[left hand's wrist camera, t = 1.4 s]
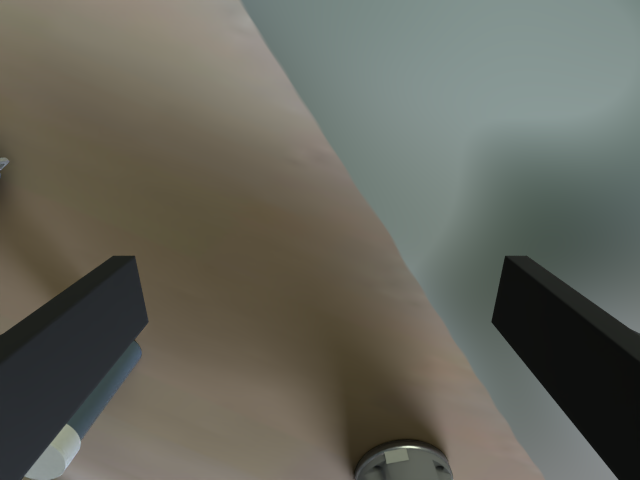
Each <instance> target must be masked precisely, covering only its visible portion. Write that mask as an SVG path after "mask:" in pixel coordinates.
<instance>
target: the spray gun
mask: <svg viewBox="0 0 640 480" xmlns="http://www.w3.org/2000/svg"><path fill="white" fill-rule="evenodd" d="M8 163H9V160H8V159H7V158H5V157H4V158H0V170H1V169H2V168H4V167H5V166H6V165H7V164H8ZM0 177H1V173H0Z"/></svg>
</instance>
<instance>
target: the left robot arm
mask: <svg viewBox="0 0 640 480" xmlns="http://www.w3.org/2000/svg"><path fill="white" fill-rule="evenodd" d="M147 323H148V317H147V312H146V307H145V302H144V298H143V293H142V288H141V283H140V278H139V274H138V269H137V264H136V259H135V256H112V257H111V258H109V259H108V260H107V261H105V262H104V263H102V264H101V265H100V266H98V267H97V268H95V269H94V270H93V271H91V272H90V273H88V274H87V275H85V276H84V277H83V278H81V279H80V280H78V281H77V282H76V283H74V284H73V285H71V286H70V287H69V288H67V289H66V290H64V291H63V292H61V293H60V294H59V295H57V296H56V297H54V298H53V299H52V300H50V301H49V302H47V303H46V304H44V305H43V306H42V307H40V308H39V309H37V310H36V311H35V312H33V313H32V314H30V315H29V316H28V317H26V318H25V319H23V320H22V321H20V322H19V323H18V324H16V325H15V326H13V327H12V328H11V329H9V330H8V331H6V332H5V333H4V334H2V335H0V480H22V478H23V477H24V476H25V475H26V473H27V472H28V471H29V470H30V468H31V467H32V466H33V465H34V463H35V462H36V461H37V460H38V458H39V457H40V456H41V455H42V454H43V452H44V451H45V450H46V449H47V447H48V446H49V445H50V444H51V442H52V441H53V440H54V439H55V437H56V436H57V435H58V434H59V432H60V431H61V430H62V429H63V427H64V426H65V425H66V424H67V423H68V421H69V420H70V419H71V418H72V416H73V415H74V414H75V413H76V411H77V410H78V409H79V408H80V406H81V405H82V404H83V403H84V401H85V400H86V399H87V398H88V396H89V395H90V394H91V393H92V392H93V390H94V389H95V388H96V387H97V385H98V384H99V383H100V382H101V380H102V379H103V378H104V377H105V375H106V374H107V373H108V372H109V370H110V369H111V368H112V367H113V365H114V364H115V363H116V362H117V361H118V359H119V358H120V357H121V356H122V354H123V353H124V352H125V351H126V349H127V348H128V347H129V346H130V344H131V343H132V342H133V341H134V339H135V338H136V337H137V336H138V335H139V333H140V332H141V331H142V330H143V328H144V327H145V326H146V325H147ZM492 323H493V325H494V326H495V327H496V328H497V330H498V331H499V332H500V333H501V334H502V336H503V337H504V338H505V339H506V341H507V342H508V343H509V344H510V346H511V347H512V348H513V349H514V351H515V352H516V353H517V354H518V355H519V357H520V358H521V359H522V361H523V362H524V363H525V364H526V365H527V367H528V368H529V369H530V370H531V372H532V373H533V374H534V375H535V377H536V378H537V379H538V380H539V382H540V383H541V384H542V385H543V387H544V388H545V389H546V390H547V392H548V393H549V394H550V395H551V396H552V398H553V399H554V400H555V401H556V403H557V404H558V405H559V406H560V408H561V409H562V410H563V411H564V413H565V414H566V415H567V416H568V418H569V419H570V420H571V421H572V423H573V424H574V425H575V426H576V427H577V429H578V430H579V431H580V432H581V434H582V435H583V436H584V437H585V439H586V440H587V441H588V442H589V444H590V445H591V446H592V447H593V449H594V450H595V451H596V452H597V453H598V455H599V456H600V457H601V458H602V460H603V461H604V462H605V463H606V465H607V466H608V467H609V468H610V470H611V471H612V472H613V473H614V475H615V476H616V477H617V478H618V480H640V333H637V332H635V331H633V330H631V329H629V328H628V327H627V326H625V325H624V324H622V323H621V322H619V321H618V320H617V319H615V318H614V317H612V316H611V315H610V314H608V313H607V312H605V311H604V310H603V309H601V308H600V307H598V306H597V305H595V304H594V303H593V302H591V301H590V300H588V299H587V298H586V297H584V296H583V295H581V294H580V293H579V292H577V291H576V290H574V289H573V288H571V287H570V286H569V285H567V284H566V283H564V282H563V281H562V280H560V279H559V278H557V277H556V276H555V275H553V274H552V273H550V272H549V271H547V270H546V269H545V268H543V267H542V266H540V265H539V264H538V263H536V262H535V261H533V260H532V259H531V258H529V257H528V256H505V259H504V264H503V269H502V274H501V278H500V283H499V288H498V293H497V298H496V302H495V307H494V312H493V317H492ZM355 480H453V474H452V471H451V468H450V466H449V463H448V460H447V458H446V457H445V455H444V454H443V453H442V452H441V451H440V450H439V449H437V448H436V447H434V446H432V445H430V444H428V443H425V442H421V441H417V440H396V441H391V442H387V443H384V444H381V445H379V446H377V447H375V448H373V449H372V450H370V451H369V452H367V453H366V454H365V455H364V456H363V457H362V458H361V460H360V461H359V463H358V465H357V467H356V471H355Z"/></svg>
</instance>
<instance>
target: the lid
mask: <svg viewBox="0 0 640 480" xmlns="http://www.w3.org/2000/svg"><path fill="white" fill-rule="evenodd" d="M80 446H81V441H80V438H79V435H78V434H77V432H76V431H75V430H74V429H73V428H72V427H70V426H69V425H68V424H66V425H65V426H64V427H63V429H62V430H61V431H60V432H59V434H58V435H57V436H56V437H55V439H54V440H53V441H52V442H51V444H50V445H49V446H48V447H47V449H46V450H45V451H44V452H43V454H42V455H41V456H40V457H39V458H38V460H37V461H36V462H35V463H34V465H33V466H32V467H31V468H30V470H29V471H28V472H27V473H26V475H25V477H27V478H31V479H35V480H51V479H54V478H57V477H59V476H60V475H61V474H62V473H63V472H64V471H65V469H66V468H67V466H68V465H69V464H70V462H71V461H72V459H73V458H74V457H75V455H76V454H77V452H78V451H79V449H80Z"/></svg>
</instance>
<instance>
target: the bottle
mask: <svg viewBox="0 0 640 480" xmlns="http://www.w3.org/2000/svg"><path fill="white" fill-rule="evenodd" d="M141 353H142V352H141V348H140V346H139V345H138V344H137V343H136V342H135V341H133V342H132V343H131V344H130V346H129V347H128V348H127V349H126V351H125V352H124V353H123V354H122V356H121V357H120V358H119V359H118V361H117V362H116V363H115V364H114V365H113V367H112V368H111V369H110V370H109V372H108V373H107V374H106V375H105V377H104V378H103V379H102V380H101V382H100V383H99V384H98V385H97V387H96V388H95V389H94V390H93V392H92V393H91V394H90V395H89V396H88V398H87V399H86V400H85V401H84V403H83V404H82V405H81V406H80V408H79V409H78V410H77V411H76V413H75V414H74V415H73V416H72V418H71V419H70V420H69V421H68V423H67V424H68V425H69V426H70V427H72V428H73V429H74V430H75V431H76V432H77V434H78V435H79V438H80V441H81V440H82V439H83V437H84V436H85V435H86V433H87V432H88V430H89V429H90V428H91V426H92V425H93V423H94V422H95V421H96V419H97V418H98V417H99V415H100V414H101V412H102V411H103V410H104V408H105V407H106V405H107V404H108V403H109V401H110V400H111V398H112V397H113V396H114V394H115V393H116V392H117V390H118V389H119V387H120V386H121V385H122V383H123V382H124V380H125V379H126V378H127V376H128V375H129V374H130V372H131V371H132V369H133V368H134V367H135V365H136V364H137V362H138V361H139V360H140V358H141Z"/></svg>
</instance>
